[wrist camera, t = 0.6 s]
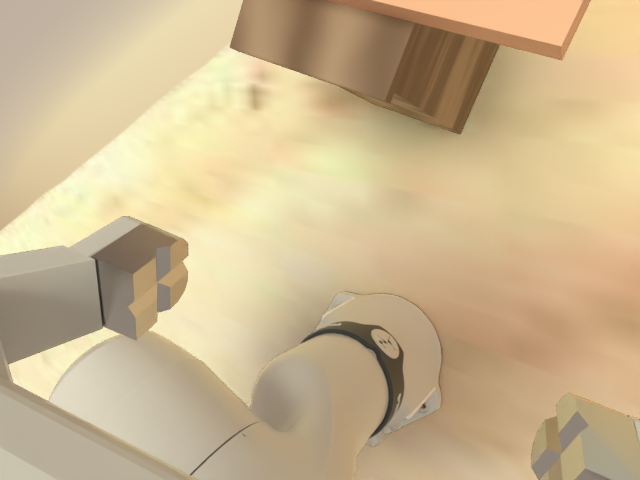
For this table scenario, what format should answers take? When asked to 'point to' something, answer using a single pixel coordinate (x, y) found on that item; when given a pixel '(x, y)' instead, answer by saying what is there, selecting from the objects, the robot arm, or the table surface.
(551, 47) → the terracotta block
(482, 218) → the table surface
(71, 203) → the table surface
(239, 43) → the walnut stand
